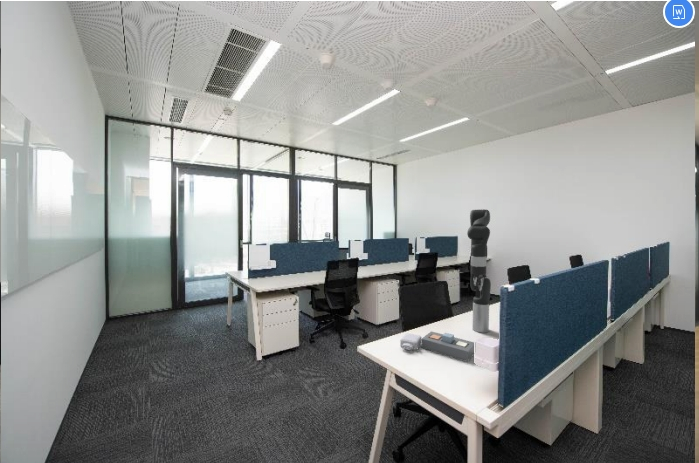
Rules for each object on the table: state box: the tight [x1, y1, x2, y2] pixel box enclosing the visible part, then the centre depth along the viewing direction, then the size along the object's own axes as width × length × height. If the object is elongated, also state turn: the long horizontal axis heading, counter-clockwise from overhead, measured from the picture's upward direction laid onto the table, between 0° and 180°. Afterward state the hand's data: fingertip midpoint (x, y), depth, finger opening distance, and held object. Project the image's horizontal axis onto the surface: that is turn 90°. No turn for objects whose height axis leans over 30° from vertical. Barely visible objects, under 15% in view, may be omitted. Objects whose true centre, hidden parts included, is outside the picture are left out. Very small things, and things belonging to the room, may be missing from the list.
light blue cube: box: [442, 332, 455, 344], centre depth 151 cm, size 5×5×5 cm
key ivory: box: [456, 341, 468, 348], centre depth 147 cm, size 5×5×5 cm
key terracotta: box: [429, 335, 441, 340], centre depth 155 cm, size 5×5×5 cm
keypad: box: [420, 330, 475, 362], centre depth 151 cm, size 13×24×5 cm, turn 51°
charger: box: [399, 333, 422, 351], centre depth 154 cm, size 5×9×15 cm
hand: (478, 297), depth 149 cm, fingers closed
